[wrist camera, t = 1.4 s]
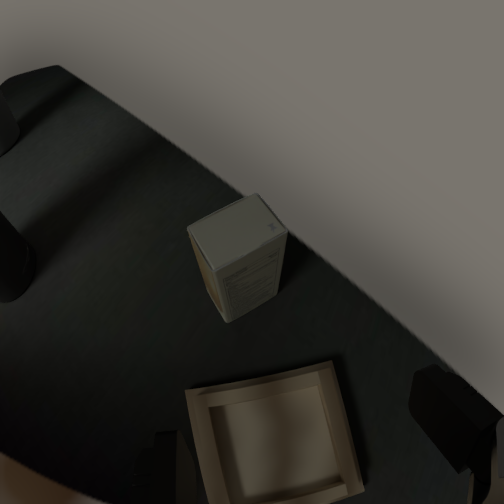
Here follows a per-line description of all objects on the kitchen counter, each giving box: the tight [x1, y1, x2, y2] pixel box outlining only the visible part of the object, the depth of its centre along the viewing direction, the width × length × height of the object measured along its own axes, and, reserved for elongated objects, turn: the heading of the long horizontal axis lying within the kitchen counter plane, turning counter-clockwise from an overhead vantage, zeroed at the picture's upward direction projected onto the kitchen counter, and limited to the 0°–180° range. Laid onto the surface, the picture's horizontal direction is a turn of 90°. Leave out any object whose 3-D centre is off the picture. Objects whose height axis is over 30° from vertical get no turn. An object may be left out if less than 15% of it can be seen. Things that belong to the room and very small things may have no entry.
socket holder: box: [185, 360, 364, 504], centre depth 24 cm, size 14×14×2 cm
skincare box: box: [187, 193, 288, 323], centre depth 28 cm, size 6×4×12 cm
